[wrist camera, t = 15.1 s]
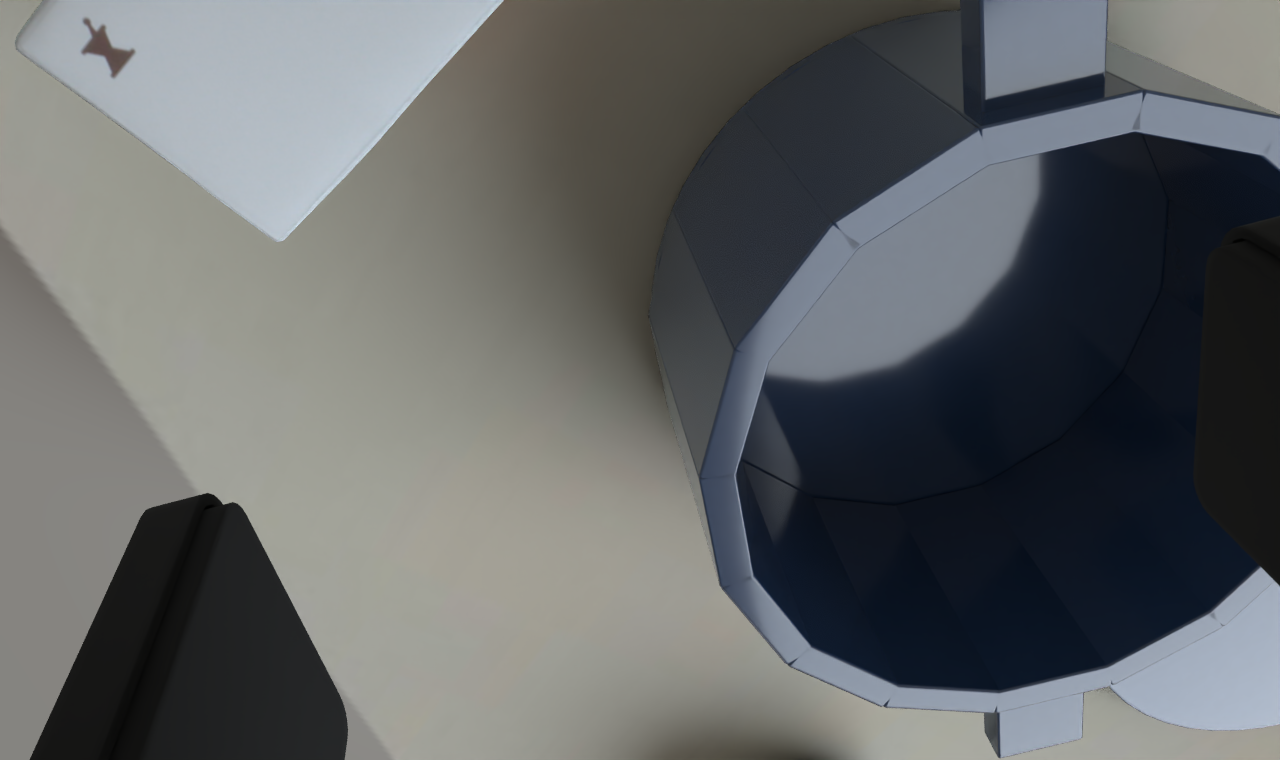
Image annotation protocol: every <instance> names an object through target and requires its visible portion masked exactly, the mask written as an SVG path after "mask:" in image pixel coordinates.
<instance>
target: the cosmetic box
mask: <svg viewBox="0 0 1280 760" xmlns="http://www.w3.org/2000/svg"><path fill="white" fill-rule="evenodd" d="M503 1H504V0H43V1H42V2H41V3H40V5H39V6H38V7H37V9H36V10H35V11H34V13H33V14H32V15H31V17H30V18H29V19H28V21H27V22H26V23H25V25H24V26H23V27H22V29H21V30H20V32H19V33H18V35H17V37H16V40H15V46H16V50H17V51H18V52H20V53H21V54H22V55H24V56H25V57H26V58H28V59H29V60H30V61H32V62H33V63H34V64H36V65H37V66H38V67H40V68H41V69H43V70H44V71H45V72H47V73H48V74H49V75H51V76H52V77H53V78H55V79H56V80H58V81H59V82H60V83H62V84H63V85H64V86H66V87H67V88H69V89H70V90H71V91H73V92H74V93H75V94H77V95H78V96H80V97H81V98H82V99H84V100H85V101H86V102H88V103H89V104H91V105H92V106H93V107H95V108H96V109H97V110H99V111H100V112H101V113H103V114H104V115H105V116H107V117H108V118H110V119H111V120H112V121H114V122H115V123H116V124H118V125H119V126H120V127H122V128H123V129H124V130H126V131H127V132H129V133H130V134H131V135H133V136H134V137H135V138H137V139H138V140H139V141H141V142H142V143H144V144H145V145H146V146H148V147H149V148H150V149H152V150H153V151H154V152H156V153H157V154H158V155H160V156H161V157H162V158H164V159H165V160H167V161H168V162H169V163H171V164H172V165H173V166H175V167H176V168H177V169H179V170H180V171H181V172H183V173H184V174H185V175H187V176H188V177H189V178H191V179H192V180H193V181H194V182H196V183H197V184H198V185H200V186H201V187H202V188H204V189H205V190H206V191H207V192H209V193H210V194H211V195H213V196H214V197H215V198H217V199H218V200H219V201H221V202H222V203H223V204H225V205H226V206H227V207H229V208H230V209H232V210H233V211H234V212H236V213H237V214H238V215H240V216H241V217H242V218H244V219H245V220H247V221H248V222H249V223H251V224H252V225H253V226H255V227H256V228H257V229H259V230H260V231H261V232H263V233H264V234H265V235H267V236H268V237H269V238H271V239H272V240H273V241H275V242H278V241H283V240H285V239H286V237H287V236H288V235H289V234H290V233H291V232H292V231H293V230H294V229H295V228H296V227H297V226H298V225H299V224H300V223H301V222H302V221H303V220H304V219H305V218H306V217H307V216H308V215H309V214H310V213H311V212H312V211H313V210H314V209H315V208H316V206H317V205H318V204H319V203H320V202H321V201H322V200H323V199H324V198H325V197H326V196H327V195H328V194H329V193H330V192H331V191H332V190H333V189H334V188H335V187H336V186H337V185H338V184H339V183H340V182H341V181H342V180H343V179H344V178H345V177H346V176H347V175H348V174H349V173H350V171H351V170H352V169H353V168H354V167H355V166H356V165H357V164H358V163H359V162H360V161H361V160H362V159H363V157H364V156H365V155H366V154H367V153H368V152H369V151H370V150H371V149H372V148H373V147H374V146H375V145H376V143H377V142H378V141H379V140H380V139H381V138H382V137H383V135H384V134H385V133H386V132H387V131H388V129H389V128H390V127H391V126H392V125H393V124H394V122H395V121H396V120H397V119H398V118H399V116H400V115H401V114H402V113H403V112H404V111H405V110H406V108H407V107H408V106H409V105H410V104H411V103H412V102H413V100H414V99H415V98H416V97H417V96H418V95H419V94H420V92H421V91H422V90H423V89H424V88H425V87H426V86H427V84H428V83H429V82H430V81H431V80H432V79H433V78H434V77H435V76H436V74H437V73H438V72H439V71H440V70H441V69H442V68H443V67H444V66H445V65H446V64H447V62H448V61H449V60H450V59H451V58H452V57H453V56H454V55H455V54H456V53H457V51H458V50H459V49H460V48H461V47H462V46H463V45H464V44H465V43H466V42H467V40H468V39H469V38H470V37H471V36H472V35H473V34H474V33H475V32H476V31H477V29H478V28H479V27H480V26H481V25H482V24H483V23H484V22H485V21H486V19H487V18H488V17H489V16H490V15H491V14H492V13H493V12H494V11H495V9H496V8H497V7H498V6H499V5H500V4H501V3H502V2H503Z"/></svg>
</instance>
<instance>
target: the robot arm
mask: <svg viewBox="0 0 1280 760" xmlns="http://www.w3.org/2000/svg"><path fill="white" fill-rule="evenodd" d="M1193 478H1194V486H1195V490H1196V493H1197V496H1198V498H1199V501H1200V502H1201V504H1202V506H1203V508H1204V509H1205V510H1206V512H1207V513H1208V514H1209V515H1210V516H1211V517H1212V518H1213V519H1214V520H1215V521H1216V522H1217V523H1218V524H1219V525H1220V526H1221V527H1222V528H1223V529H1224V530H1225V531H1226V532H1227V533H1228V534H1229V535H1230V536H1231V537H1232V538H1233V539H1234V540H1235V541H1236V542H1237V543H1238V545H1239V546H1240V547H1241V548H1242V549H1243V550H1244V551H1245V552H1246V553H1247V554H1248V555H1249V556H1250V557H1251V558H1252V559H1253V560H1254V561H1255V562H1256V563H1257V564H1258V565H1259V566H1260V567H1261V568H1262V569H1263V570H1264V571H1265V572H1266V573H1267V574H1268V575H1269V576H1270V577H1271V578H1272V579H1273V580H1274V581H1275V582H1276V583H1277V584H1278V585H1279V586H1280V216H1278V217H1274V218H1270V219H1266V220H1262V221H1258V222H1254V223H1251V224H1247V225H1243V226H1239V227H1235V228H1232V229H1231V230H1230V231H1228V232H1227V233H1226V234H1225V236H1224V238H1223V240H1222V242H1221V247H1219V248H1215V249H1214V250H1213V251H1212V252H1211V253H1210V255H1209V257H1208V259H1207V264H1206V273H1205V290H1204V306H1203V323H1202V339H1201V356H1200V372H1199V389H1198V405H1197V422H1196V438H1195V455H1194V471H1193ZM347 736H348V726H347V718H346V712H345V708H344V705H343V702H342V699H341V697H340V695H339V693H338V691H337V689H336V687H335V685H334V683H333V681H332V679H331V677H330V676H329V674H328V672H327V670H326V668H325V666H324V664H323V662H322V660H321V658H320V656H319V654H318V652H317V650H316V648H315V647H314V645H313V643H312V641H311V639H310V637H309V635H308V633H307V631H306V629H305V627H304V625H303V623H302V621H301V619H300V618H299V616H298V614H297V612H296V610H295V608H294V606H293V604H292V602H291V600H290V598H289V596H288V594H287V592H286V591H285V589H284V587H283V585H282V583H281V581H280V579H279V577H278V575H277V573H276V571H275V569H274V567H273V565H272V563H271V562H270V560H269V558H268V556H267V554H266V552H265V550H264V548H263V546H262V544H261V542H260V540H259V538H258V536H257V534H256V533H255V531H254V529H253V527H252V525H251V523H250V521H249V519H248V517H247V515H246V514H245V512H244V510H243V509H242V508H241V507H240V506H239V505H238V504H236V503H233V502H232V503H229V504H225V505H223V504H222V503H221V501H220V500H219V499H218V498H217V497H216V496H214V495H212V494H209V493H206V494H202V495H198V496H194V497H191V498H187V499H183V500H179V501H175V502H171V503H168V504H163V505H160V506H156V507H152V508H149V509H147V510H146V511H145V512H144V513H143V515H142V516H141V518H140V520H139V522H138V524H137V526H136V529H135V531H134V533H133V535H132V538H131V540H130V542H129V544H128V546H127V548H126V551H125V553H124V555H123V557H122V559H121V561H120V564H119V566H118V568H117V570H116V572H115V575H114V577H113V579H112V581H111V583H110V585H109V588H108V590H107V592H106V594H105V597H104V599H103V601H102V603H101V605H100V607H99V610H98V612H97V614H96V616H95V618H94V621H93V623H92V625H91V627H90V629H89V631H88V634H87V636H86V638H85V640H84V642H83V644H82V647H81V649H80V651H79V653H78V655H77V658H76V660H75V662H74V664H73V666H72V669H71V671H70V673H69V675H68V677H67V679H66V682H65V684H64V686H63V688H62V690H61V692H60V695H59V697H58V699H57V701H56V703H55V706H54V708H53V710H52V712H51V714H50V716H49V719H48V721H47V723H46V725H45V727H44V730H43V732H42V734H41V736H40V738H39V740H38V743H37V745H36V747H35V750H34V751H33V754H32V756H31V758H30V760H344V759H345V752H346V745H347Z"/></svg>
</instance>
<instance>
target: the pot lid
mask: <svg viewBox="0 0 1280 760" xmlns="http://www.w3.org/2000/svg"><path fill="white" fill-rule="evenodd" d="M1109 688H1110V689H1111V690H1112V691H1113V692H1114V693H1115V694H1116V695H1118V696H1119V697H1120V698H1121V699H1122V700H1123V701H1124V702H1125V703H1127V704H1128V705H1130V706H1132V707H1133V708H1135V709H1137V710H1138V711H1140V712H1142V713H1143V714H1145V715H1147V716H1150V717H1152V718H1155V719H1157V720H1160V721H1162V722H1165V723H1169V724H1173V725H1177V726H1181V727H1186V728H1193V729H1202V730H1211V731H1236V730H1246V729H1256V728H1264V727H1269V726H1275V725H1280V586H1279V585H1278V584H1277V583H1276V582H1275V581H1274V582H1273V583H1272V584H1271V585H1270V586H1269V587H1268V588H1267V589H1266V590H1264V591H1263V592H1262V593H1261V594H1260V595H1259V596H1258V597H1257V598H1256V599H1254V600H1253V601H1252V602H1251V603H1250V604H1249V605H1248V606H1247V607H1246V608H1244V609H1243V610H1242V611H1241V612H1240V613H1239V614H1238V615H1237V616H1236V617H1235V618H1233V619H1232V620H1231V621H1230V622H1229V623H1228V624H1227V625H1225V626H1223V627H1222V628H1221V629H1219V630H1217V631H1215V632H1213V633H1211V634H1209V635H1208V636H1206V637H1204V638H1202V639H1200V640H1198V641H1196V642H1194V643H1192V644H1191V645H1189V646H1187V647H1185V648H1183V649H1181V650H1179V651H1177V652H1175V653H1173V654H1172V655H1170V656H1168V657H1166V658H1164V659H1162V660H1160V661H1158V662H1156V663H1155V664H1153V665H1151V666H1149V667H1147V668H1145V669H1143V670H1141V671H1139V672H1137V673H1136V674H1134V675H1132V676H1130V677H1128V678H1126V679H1124V680H1122V681H1120V682H1118V683H1117V684H1115V685H1112V684H1111V686H1109Z"/></svg>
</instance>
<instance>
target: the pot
mask: <svg viewBox="0 0 1280 760" xmlns="http://www.w3.org/2000/svg"><path fill="white" fill-rule="evenodd" d="M1107 19H1108V0H960V10H957V11H939V12H933V13H926V14H920V15H914V16H907V17H902V18H899V19H896V20H892V21H889V22H885V23H882V24H879V25H875V26H872V27H868V28H865V29H863V30H860V31H858V32H856V33H854V34H851V35H849V36H847V37H844V38H842V39H840V40H838V41H835V42H833V43H831V44H829V45H826V46H825V47H823V48H821V49H820V50H818V51H816V52H815V53H813V54H811V55H810V56H808V57H806V58H805V59H803V60H801V61H800V62H798V63H796V64H795V65H793V66H791V67H790V68H788V69H787V70H786V71H785V72H783V73H782V74H781V75H779V76H778V77H777V78H776V79H774V80H773V81H772V82H770V83H769V84H768V85H766V86H765V87H764V88H763V89H761V90H760V91H759V92H757V93H756V94H755V95H754V96H753V97H752V98H751V99H750V100H749V101H748V102H747V103H746V104H745V105H744V106H743V107H742V108H741V109H740V110H739V111H738V112H737V113H736V114H735V115H734V116H733V117H732V118H731V119H730V120H729V121H728V122H727V124H726V125H725V126H724V127H723V129H722V130H721V131H720V132H719V134H718V135H717V136H716V137H715V139H714V140H713V141H712V143H711V144H710V145H709V146H708V148H707V149H706V150H705V151H704V153H703V154H702V156H701V157H700V159H699V161H698V162H697V164H696V166H695V167H694V169H693V171H692V172H691V174H690V175H689V177H688V179H687V180H686V182H685V184H684V185H683V187H682V190H681V192H680V194H679V196H678V198H677V201H676V203H675V205H674V206H673V209H672V212H671V214H670V216H669V219H668V221H667V224H666V228H665V231H664V234H663V238H662V241H661V244H660V248H659V251H658V254H657V260H656V266H655V273H654V279H653V286H652V299H651V304H650V308H649V321H650V326H651V331H652V336H653V340H654V346H655V353H656V357H657V361H658V364H659V369H660V374H661V379H662V383H663V388H664V393H665V398H666V403H667V407H668V410H669V414H670V417H671V421H672V424H673V428H674V431H675V434H676V438H677V441H678V445H679V448H680V451H681V455H682V458H683V462H684V465H685V469H686V472H687V475H688V479H689V482H690V486H691V489H692V492H693V496H694V499H695V503H696V506H697V510H698V513H699V516H700V520H701V523H702V527H703V530H704V533H705V537H706V540H707V544H708V547H709V551H710V554H711V557H712V561H713V564H714V568H715V571H716V575H717V578H718V581H719V585H720V586H721V588H722V590H723V591H724V592H725V593H726V594H727V596H728V597H729V598H730V599H731V600H732V601H733V603H734V604H735V605H736V606H737V607H738V608H739V610H740V611H741V612H742V613H743V614H744V616H745V617H746V618H747V619H748V620H749V621H750V623H751V624H752V625H753V626H754V627H755V629H756V630H757V631H758V632H759V633H760V634H761V636H762V637H763V638H764V639H765V640H766V641H767V643H768V644H769V645H770V646H771V647H772V649H773V650H774V651H775V652H776V653H777V654H778V656H779V657H780V658H781V659H782V660H783V662H784V663H786V664H788V666H789V667H791V668H794V669H796V670H798V671H801V672H803V673H805V674H807V675H810V676H812V677H814V678H817V679H819V680H821V681H823V682H826V683H828V684H830V685H832V686H835V687H837V688H839V689H842V690H844V691H846V692H848V693H851V694H853V695H855V696H858V697H860V698H862V699H864V700H867V701H869V702H871V703H873V704H876V705H878V706H880V707H882V706H884V707H886V708H904V709H922V710H940V711H959V712H977V713H984V725H985V734H986V735H987V737H988V739H989V741H990V743H991V745H992V747H993V749H994V751H995V753H996V754H997V756H998V757H999V758H1004V757H1008V756H1012V755H1016V754H1021V753H1025V752H1029V751H1033V750H1037V749H1042V748H1046V747H1050V746H1054V745H1058V744H1063V743H1067V742H1071V741H1075V740H1079V739H1081V738H1082V728H1083V700H1084V692H1088V691H1092V690H1097V689H1101V688H1105V687H1109V686H1111V684H1112V685H1115V684H1117V683H1118V682H1120V681H1122V680H1124V679H1126V678H1128V677H1130V676H1132V675H1134V674H1136V673H1137V672H1139V671H1141V670H1143V669H1145V668H1147V667H1149V666H1151V665H1153V664H1155V663H1156V662H1158V661H1160V660H1162V659H1164V658H1166V657H1168V656H1170V655H1172V654H1173V653H1175V652H1177V651H1179V650H1181V649H1183V648H1185V647H1187V646H1189V645H1191V644H1192V643H1194V642H1196V641H1198V640H1200V639H1202V638H1204V637H1206V636H1208V635H1209V634H1211V633H1213V632H1215V631H1217V630H1219V629H1221V628H1222V627H1223V626H1225V625H1227V624H1228V623H1229V622H1230V621H1231V620H1232V619H1233V618H1235V617H1236V616H1237V615H1238V614H1239V613H1240V612H1241V611H1242V610H1243V609H1244V608H1246V607H1247V606H1248V605H1249V604H1250V603H1251V602H1252V601H1253V600H1254V599H1256V598H1257V597H1258V596H1259V595H1260V594H1261V593H1262V592H1263V591H1264V590H1266V589H1267V588H1268V587H1269V586H1270V585H1271V584H1272V583H1273V582H1274V580H1273V579H1272V578H1271V577H1270V576H1269V575H1268V574H1267V573H1266V572H1265V571H1264V570H1263V569H1262V568H1261V567H1260V566H1259V565H1258V564H1257V563H1256V562H1255V561H1254V560H1253V559H1252V558H1251V557H1250V556H1249V555H1248V554H1247V553H1246V552H1245V551H1244V550H1243V549H1242V548H1241V547H1240V546H1239V545H1238V543H1237V542H1236V541H1235V540H1234V539H1233V538H1232V537H1231V536H1230V535H1229V534H1228V533H1227V532H1226V531H1225V530H1224V529H1223V528H1222V527H1221V526H1220V525H1219V524H1218V523H1217V522H1216V521H1215V520H1214V519H1213V518H1212V517H1211V516H1210V515H1209V514H1208V513H1207V512H1206V510H1205V509H1204V508H1203V506H1202V504H1201V502H1200V501H1199V498H1198V496H1197V493H1196V490H1195V486H1194V478H1193V471H1194V455H1195V438H1196V422H1197V405H1198V389H1199V372H1200V356H1201V339H1202V323H1203V306H1204V290H1205V273H1206V264H1207V259H1208V257H1209V255H1210V253H1211V252H1212V251H1213V250H1214V249H1215V248H1219V247H1221V242H1222V240H1223V238H1224V236H1225V234H1226V233H1227V232H1228V231H1230V230H1231V229H1232V228H1235V227H1239V226H1243V225H1247V224H1251V223H1254V222H1258V221H1262V220H1266V219H1270V218H1274V217H1278V216H1280V114H1278V113H1276V112H1273V111H1271V110H1269V109H1266V108H1264V107H1262V106H1259V105H1257V104H1254V103H1252V102H1250V101H1247V100H1245V99H1243V98H1240V97H1238V96H1236V95H1233V94H1231V93H1229V92H1226V91H1224V90H1222V89H1219V88H1217V87H1215V86H1212V85H1210V84H1208V83H1205V82H1203V81H1200V80H1198V79H1196V78H1193V77H1191V76H1189V75H1186V74H1184V73H1182V72H1179V71H1177V70H1175V69H1172V68H1170V67H1168V66H1165V65H1163V64H1161V63H1158V62H1156V61H1154V60H1151V59H1149V58H1146V57H1144V56H1142V55H1139V54H1137V53H1135V52H1132V51H1130V50H1128V49H1125V48H1123V47H1121V46H1118V45H1116V44H1114V43H1111V42H1109V41H1107Z"/></svg>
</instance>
